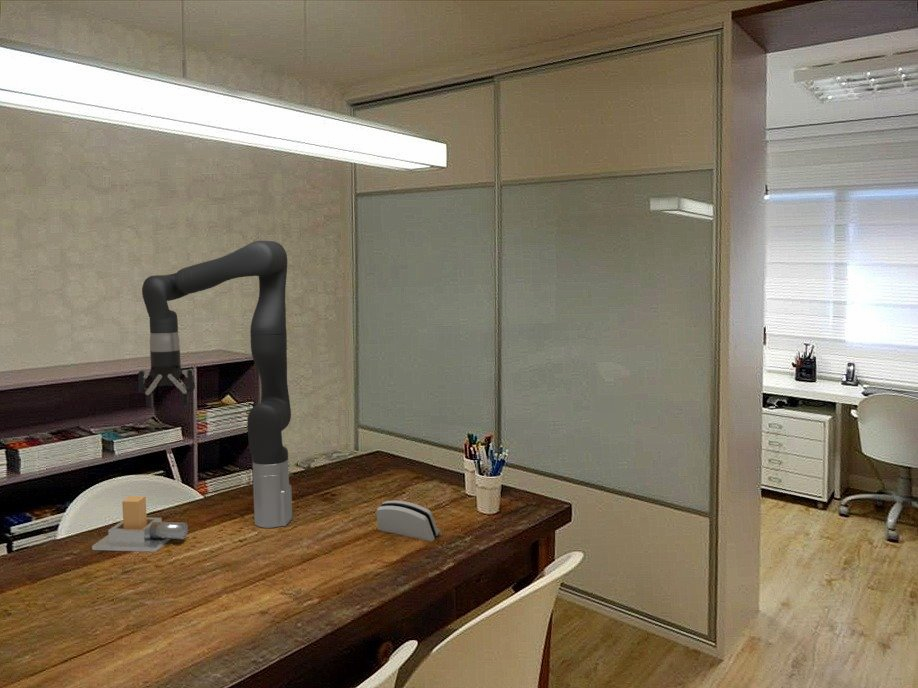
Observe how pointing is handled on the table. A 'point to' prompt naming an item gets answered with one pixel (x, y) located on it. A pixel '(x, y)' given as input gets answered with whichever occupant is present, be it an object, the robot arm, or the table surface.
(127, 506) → the upright wooden block
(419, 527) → the grey rounded block
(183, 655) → the table surface
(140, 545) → the bracket head
